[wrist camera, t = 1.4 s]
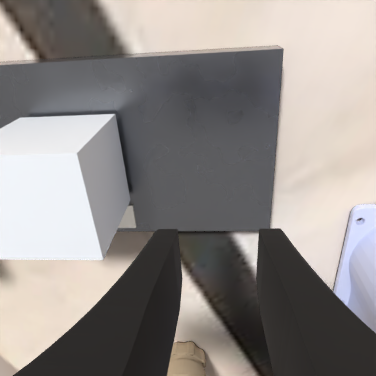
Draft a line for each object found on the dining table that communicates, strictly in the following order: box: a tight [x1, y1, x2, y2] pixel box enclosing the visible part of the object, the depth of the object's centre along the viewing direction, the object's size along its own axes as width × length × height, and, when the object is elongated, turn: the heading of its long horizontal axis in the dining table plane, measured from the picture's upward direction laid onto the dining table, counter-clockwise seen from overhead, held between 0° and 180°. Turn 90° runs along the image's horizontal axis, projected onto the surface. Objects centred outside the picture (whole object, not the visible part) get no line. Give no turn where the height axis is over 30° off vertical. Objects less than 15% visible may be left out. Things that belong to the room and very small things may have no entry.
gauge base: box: [0, 45, 283, 231], centre depth 16 cm, size 24×10×8 cm, turn 93°
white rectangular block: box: [0, 114, 130, 260], centre depth 16 cm, size 5×7×5 cm
